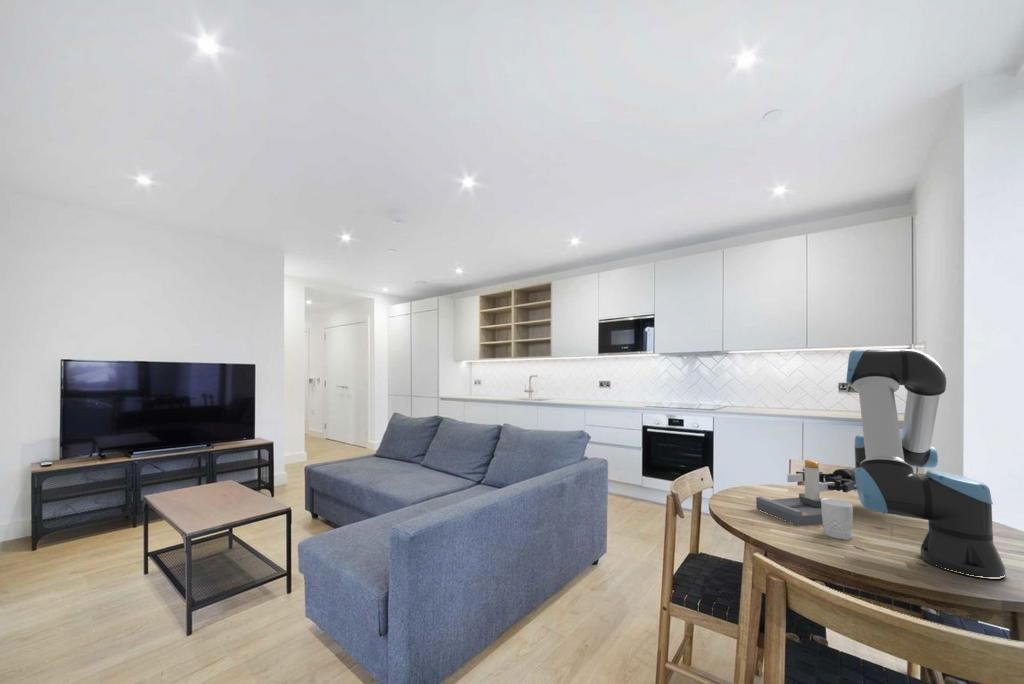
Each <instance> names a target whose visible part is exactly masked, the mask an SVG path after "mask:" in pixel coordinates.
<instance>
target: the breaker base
mask: <svg viewBox="0 0 1024 684" xmlns="http://www.w3.org/2000/svg"><path fill="white" fill-rule="evenodd" d="M800 496H805V492H801V493H798V497H787V498H777V499H776V498H774V499H769V498H766V497H763V496H755V497H756V500H755V501H756V502H755V505H756V510H757V509H758V510H757V511H759V510H761V511H763V512H762V513H764V512H766V513H768V514H767V515H769V514H771V515H773V516H772V517H774V516H776V517H778V518H777V519H779V518H781V519H783V520H782V521H784V520H786V521H788V522H787V523H789V522H791V523H793V524H792V525H794V524H795V526H796V525H797V527H799V526H798V525H802V526H808V525H809V526H810V525H818V524H819V525H820V524H823V521H822V510H821V507H814V506H811V505H808V504H805V503H802V502H800ZM761 511H760V512H761ZM766 513H765V514H766ZM771 515H770V516H771ZM776 517H775V518H776ZM781 519H780V520H781ZM786 521H785V522H786ZM791 523H790V524H791Z"/></svg>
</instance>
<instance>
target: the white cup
mask: <svg viewBox="0 0 1024 684" xmlns="http://www.w3.org/2000/svg"><path fill="white" fill-rule="evenodd" d="M820 499H821V510H822V521H823V523H822V527H823V534H824V535H826V536H828V537H830V538H833V539H836V540H842V539H843V540H845V541H849V540H851V539H852V529H853V523H854V522H853V521H854V520H853V518H854V517H853V515H854V511H853V510H854V505H853V504H852V503H850V502H848V501H845V500H840V499H837V498H835V499H834V498H820Z"/></svg>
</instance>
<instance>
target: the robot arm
mask: <svg viewBox="0 0 1024 684" xmlns="http://www.w3.org/2000/svg"><path fill="white" fill-rule="evenodd" d="M847 361H848V362H847V371H846V377H845V378H846V380H845V383H846V384H848V385H852V390H853V391H855V392H856V393H858V397H859V398H858V399H859V405H860V415H861V424H862V425H861V426H862V433H863V434H857V435H856V436H855V437H854V462H855V464H854V465H855V466H854V467H850V468H849V467H848V468H838V469H836V470H834V471H833V472H832V473H823V472H821V471H819V483H818V491H819V492H821V493H822V492H832V491H833V492H834V491H837V492H840V491H842V492H843V493H848V492H850V491H855V492H857V495H858V496H857V497H858V498H859V501H860V503H861V506H863V507H864V508H865V510H868V511H871V512H875V513H876V512H878V513H881V514H884V515H892V516H893V515H896V516H900V517H901V516H902V517H905V518H913V519H919V520H926V521H927V522H928V529H927V532H926V535H925V537H924V539H923V541H922V543H921V546H920V557H921V558H922V560H924V559H925V560H926V561H925V560H924V561H925V562H927V561H928V562H927V563H929V562H930V563H932V564H931V565H933V564H934V565H933V566H935V565H937V566H939V567H938V568H940V567H942V568H946V569H949V570H953V571H957V572H961V573H964V574H969V575H974V576H983V577H1000V576H1004V575H1005V576H1006V568H1005V567H1006V566H1005V565H1004V563H1003V560H1002V558H1001V556H1000V554H999V551H998V550H997V548H996V546H995V543H994V532H993V528H994V527H993V511H992V510H993V507H992V505H993V500H992V495H991V490H990V489H991V488H989V486H988V485H987V484H986V483H984V482H982V481H980V480H977V479H975V478H974V479H973V478H971V477H967V476H963V475H960V474H955V473H951V472H950V473H949V472H946V471H945V472H944V471H939V470H933V469H931V468H936V467H937V466H938V465H939V464H938V463H939V461H938V459H939V456H938V452H937V451H938V450H937V449H936V447H934V446H931V444H932V439H933V436H934V435H933V434H934V430H935V423H936V418H937V413H938V408H939V401H940V396H941V395H943V394H944V393H945V392H946V387H947V377H946V372H945V371H944V370H943V368H942V366H941V365H940V364H939V362H938V361H936V359H934V358H933V357H931V356H930V355H929V354H927V353H924V352H922V351H920V350H915V349H908V348H906V349H905V348H903V349H866V348H865V349H853V350H851V351H850V352H849V354H848V360H847ZM900 386H904V389H905V390H906V391H907V393H906V401H905V408H904V409H905V410H904V415H903V416H904V417H903V423H902V431H900V424H899V423H900V422H899V418H898V417H899V416H898V410H897V404H896V399H895V392H897V391H898V390H899V388H900ZM913 467H917V468H929V470H927V471H926V472H925V475H921V474H915V473H914V468H913ZM930 469H931V470H930ZM786 480H787V483H802V482H805V472H804V471H796V472H795V473H788V474H787V479H786ZM930 563H929V564H930ZM937 566H936V567H937ZM942 568H941V569H942Z"/></svg>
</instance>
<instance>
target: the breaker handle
mask: <svg viewBox="0 0 1024 684" xmlns="http://www.w3.org/2000/svg"><path fill="white" fill-rule="evenodd" d="M803 469H804V471H803V472H805V481H804V493H805V496H800V502H802V503H805V504H808V505H811V506H814V507H821V499H822V498H820V495H821V494H820V491H818V483H820V482H819V472H820V467H819V461H817V460H813V459H805V460H804V468H803Z"/></svg>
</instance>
